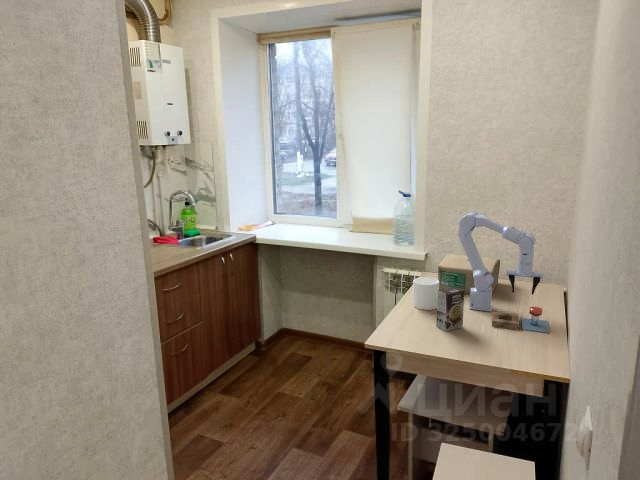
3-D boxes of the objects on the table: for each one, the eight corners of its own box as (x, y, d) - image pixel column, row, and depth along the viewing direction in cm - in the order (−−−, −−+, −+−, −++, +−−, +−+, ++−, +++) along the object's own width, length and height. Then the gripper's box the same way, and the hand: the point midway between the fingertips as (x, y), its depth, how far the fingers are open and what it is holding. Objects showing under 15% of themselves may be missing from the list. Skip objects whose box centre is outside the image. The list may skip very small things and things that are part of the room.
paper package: (435, 291, 234) (436, 264, 231) (447, 276, 256) (448, 252, 253) (491, 299, 222) (493, 271, 219) (498, 283, 244) (500, 257, 241)
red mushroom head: (528, 326, 190) (529, 310, 188) (528, 321, 194) (529, 306, 192) (541, 327, 188) (542, 311, 186) (540, 323, 192) (542, 307, 191)
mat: (522, 329, 187) (522, 328, 187) (521, 318, 198) (521, 317, 198) (549, 333, 184) (549, 332, 184) (546, 321, 195) (547, 320, 195)
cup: (433, 311, 208) (434, 286, 205) (408, 307, 214) (409, 282, 211) (441, 303, 217) (442, 279, 214) (417, 299, 223) (418, 275, 220)
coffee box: (446, 332, 187) (448, 294, 183) (435, 326, 193) (437, 289, 189) (463, 327, 191) (465, 290, 187) (452, 321, 197) (454, 285, 193)
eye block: (491, 326, 191) (492, 320, 191) (492, 317, 201) (492, 311, 200) (518, 329, 188) (519, 323, 187) (517, 319, 197) (518, 314, 196)
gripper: (507, 263, 195) (504, 294, 198) (545, 266, 190) (542, 297, 193) (507, 259, 202) (504, 288, 205) (543, 261, 196) (540, 292, 200)
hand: (522, 292), depth 199 cm, fingers open, 7 cm apart
